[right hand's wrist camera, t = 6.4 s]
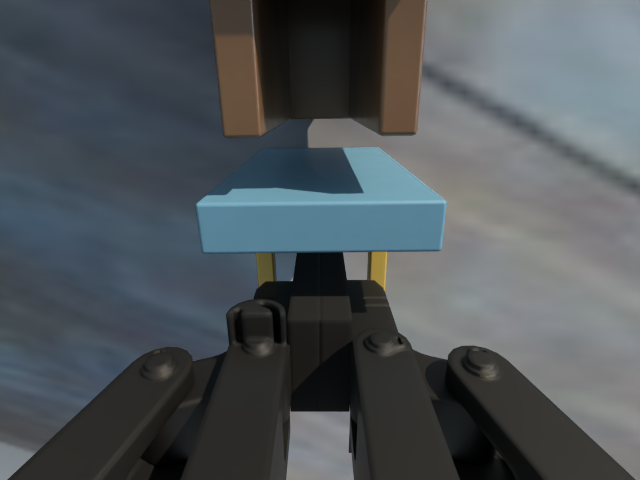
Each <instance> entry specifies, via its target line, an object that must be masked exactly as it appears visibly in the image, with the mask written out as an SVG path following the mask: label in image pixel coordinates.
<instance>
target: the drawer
mask: <svg viewBox="0 0 640 480" xmlns="http://www.w3.org/2000/svg"><path fill="white" fill-rule="evenodd" d="M209 2H210V11H211V21H212V31H213V40H214V50H215V60H216V69H217V79H218V89H219V98H220V108H221V118H222V128H223V135H224V137H226V138H259V137H261V136H263V135H264V134H266V133H268V132H269V131H271V130H273V129H274V128H276V127H278V126H279V125H281V124H283V123H284V122H286V121H288V120H289V119H335V118H351V119H353V120H354V121H356V122H358V123H360V124H362V125H363V126H365V127H367V128H369V129H370V130H372V131H374V132H376V133H377V134H379V135H381V136H412V135H415V134H416V132H417V126H418V113H419V101H420V88H421V76H422V64H423V51H424V39H425V26H426V14H427V2H428V0H209ZM446 206H447V203H446V200H444V199H443V198H442V197H441V196H439V195H438V194H437V193H436V192H434V191H433V190H432V189H430V188H429V187H428V186H427V185H425V184H424V183H423V182H422V181H420V180H419V179H418V178H417V177H415V176H414V175H413V174H412V173H410V172H409V171H408V170H406V169H405V168H404V167H403V166H401V165H400V164H399V163H398V162H396V161H395V160H394V159H393V158H391V157H390V156H389V155H388V154H386V153H385V152H384V151H382V150H381V149H380V148H378V147H356V148H273V149H262V150H260V151H259V152H258V153H257V154H255V155H254V156H253V157H252V158H251V159H249V160H248V161H247V162H246V163H245V164H243V165H242V166H241V167H240V168H239V169H237V170H236V171H235V172H234V173H233V174H231V175H230V176H229V177H228V178H227V179H225V180H224V181H223V182H222V183H220V184H219V185H218V186H217V187H216V188H214V189H213V190H212V191H211V192H210V193H208V194H207V195H206V196H205V197H204V198H202V199H201V200H200V201H199V202H198V203H196V214H197V221H198V228H199V235H200V242H201V250H202V252H203V253H204V254H221V253H256V259H257V272H258V284H259V287H260V286H261V285H262V284H263V283H264V282H265V281H277V279H276V263H275V253H313V252H368V271H367V280H375V281H376V282H377V283H378V284H379V285H381V286H382V287H383V288H384V291H385V280H386V263H387V252H405V251H440V250H441V248H442V240H443V231H444V223H445V214H446Z"/></svg>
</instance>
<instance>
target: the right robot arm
mask: <svg viewBox="0 0 640 480" xmlns="http://www.w3.org/2000/svg"><path fill="white" fill-rule="evenodd" d="M226 319H227V328H228V337H229V347H228V350H227V351H226V352H224V353H222V354H220V355H217V356H214V357H211V358H206V359H202V360H197V361H192V356H191V355H190V354H189V353H188V352H187V351H186V350H183V349H181V348H174V347H166V348H161V349H156V350H153V351H151V352H148V353H146V354H144V355H142V356H141V357H139V358H138V359H136V360H135V361H134V362H132V363H131V364H130V365H129V366H128V367H127V368H126V369H125V370H124V371H123V372H122V373H121V374H120V375H119V376H118V377H116V378H115V379H114V380H113V381H112V382H111V383H110V384H109V385H108V386H107V387H106V388H105V389H104V390H103V391H102V392H100V393H99V394H98V395H97V396H96V397H95V398H94V399H93V400H92V401H91V402H90V403H89V404H88V405H87V406H86V407H84V408H83V409H82V410H81V411H80V412H79V413H78V414H77V415H76V416H75V417H74V418H73V419H72V420H71V421H70V422H68V423H67V424H66V425H65V426H64V427H63V428H62V429H61V430H60V431H59V432H58V433H57V434H56V435H55V436H54V437H53V438H51V439H50V440H49V441H48V442H47V443H46V444H45V445H44V446H43V447H42V448H41V449H40V450H39V451H38V452H37V453H35V454H34V455H33V456H32V457H31V458H30V459H29V460H28V461H27V462H26V463H25V464H24V465H23V466H22V467H21V468H19V469H18V470H17V471H16V472H15V473H14V474H13V475H12V476H11V477H10V478H9V479H8V480H286V473H287V462H288V450H289V439H290V405H291V411H349V404H350V436H349V453H352V461H353V473H354V480H635V479H634V478H633V477H632V476H631V475H630V474H629V473H628V472H627V471H626V470H625V469H624V468H622V467H621V466H620V465H619V464H618V463H617V462H616V461H615V460H614V459H613V458H612V457H611V456H610V455H608V454H607V453H606V452H605V451H604V450H603V449H602V448H601V447H600V446H599V445H598V444H597V443H596V442H595V441H593V440H592V439H591V438H590V437H589V436H588V435H587V434H586V433H585V432H584V431H583V430H582V429H581V428H579V427H578V426H577V425H576V424H575V423H574V422H573V421H572V420H571V419H570V418H569V417H568V416H567V415H566V414H564V413H563V412H562V411H561V410H560V409H559V408H558V407H557V406H556V405H555V404H554V403H553V402H552V401H550V400H549V399H548V398H547V397H546V396H545V395H544V394H543V393H542V392H541V391H540V390H539V389H538V388H537V387H535V386H534V385H533V384H532V383H531V382H530V381H529V380H528V379H527V378H526V377H525V376H524V375H523V374H522V373H520V372H519V371H518V370H517V369H516V368H515V367H514V366H513V365H512V364H511V363H510V362H509V361H508V360H506V359H505V358H503V357H502V356H501V355H499V354H498V353H496V352H493V351H491V350H489V349H486V348H482V347H477V346H461V347H458V348H455V349H453V350H452V351H451V352H450V354H449V355H448V360H445V359H441V358H436V357H432V356H428V355H424V354H421V353H419V352H417V351H415V350H413V349H412V347H411V344H410V343H409V341H408V340H407V338H406V337H404V336H403V335H401V334H400V333H398V330H397V327H396V324H395V321H394V318H393V315H392V312H391V309H390V307H389V303H388V300H387V299H386V294H385V291H384V288H383V287H382V286H381V285H379V284H378V283H377V282H376V281H375V280H347V278H346V271H345V264H344V258H343V252H313V253H297V257H296V264H295V271H294V278H293V281H265V282H264V283H263V284H262V285H261V286H260V287H259V288H257V289H256V293H255V296H254V299H253V300H247V301H244V302H241V303H238V304H237V305H235V306H233V307H232V308H231V309H230V310H229V311H228V312H227V314H226Z"/></svg>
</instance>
